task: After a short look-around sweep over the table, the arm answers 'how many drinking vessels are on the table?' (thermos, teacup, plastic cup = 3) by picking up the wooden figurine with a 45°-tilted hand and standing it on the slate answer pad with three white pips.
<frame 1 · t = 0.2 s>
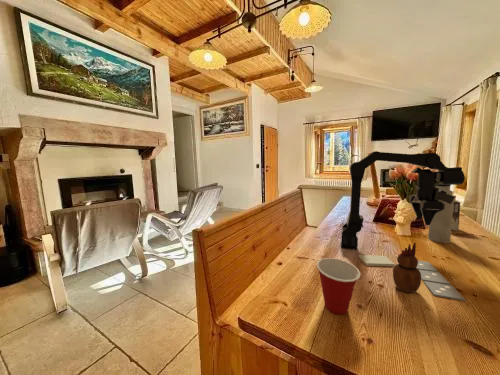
hand: (423, 221, 83), 14 cm above the table, tool pointing down, fingers open, 9 cm apart
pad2: (430, 277, 68), on the table
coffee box: (445, 228, 116), on the table
folded napkin: (375, 261, 80), on the table
wooden figurine: (405, 289, 62), on the table
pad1: (421, 266, 76), on the table
plastic cup: (336, 308, 55), on the table
thermos bottle: (438, 240, 100), on the table
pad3: (442, 291, 61), on the table
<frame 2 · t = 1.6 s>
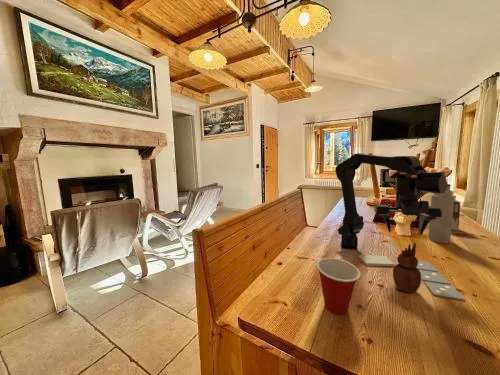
hand: (404, 233, 73), 13 cm above the table, tool pointing down, fingers open, 9 cm apart
nothing on the table moved.
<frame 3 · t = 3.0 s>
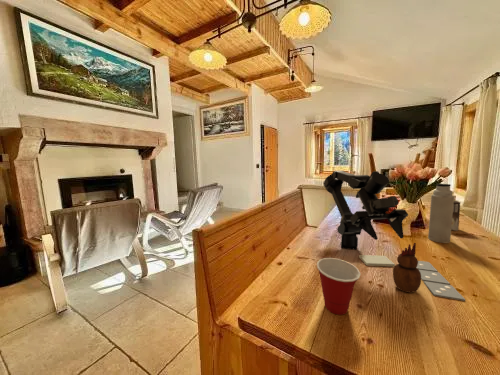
hand: (389, 238, 69), 13 cm above the table, tool tilted 45°, fingers open, 9 cm apart
nothing on the table moved.
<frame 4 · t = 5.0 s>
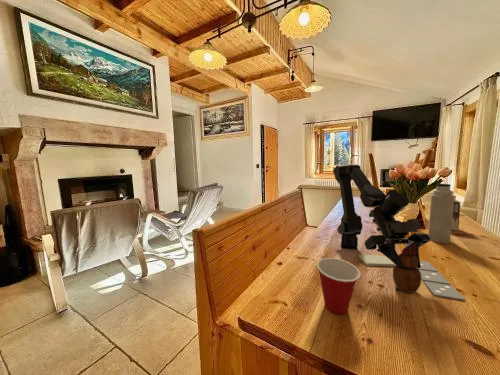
hand: (410, 268, 60), 8 cm above the table, tool tilted 45°, fingers closed on wooden figurine, 5 cm apart
wooden figurine: (405, 289, 62), on the table, touching gripper
everything else where it was.
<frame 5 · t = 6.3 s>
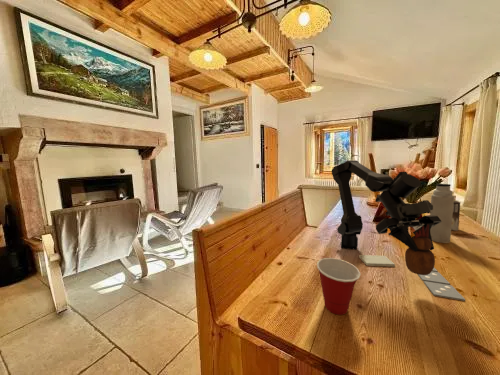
hand: (424, 250, 59), 13 cm above the table, tool tilted 45°, fingers closed on wooden figurine, 5 cm apart
wooden figurine: (418, 272, 61), point 6 cm above the table, touching gripper
everything else where it was.
when the fingers open (9 cm above the table, at t = 7.9 s): wooden figurine drops 1 cm, resting on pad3.
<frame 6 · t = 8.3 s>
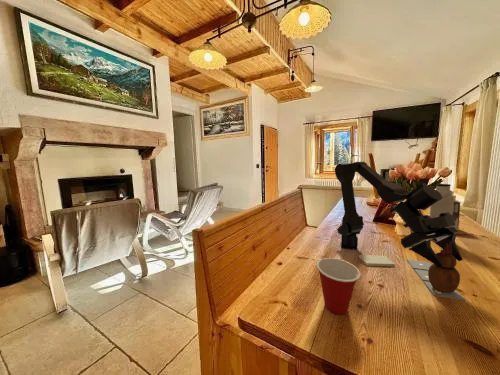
hand: (451, 263, 58), 10 cm above the table, tool tilted 45°, fingers open, 9 cm apart
wooden figurine: (442, 289, 61), resting on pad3
everything else where it was.
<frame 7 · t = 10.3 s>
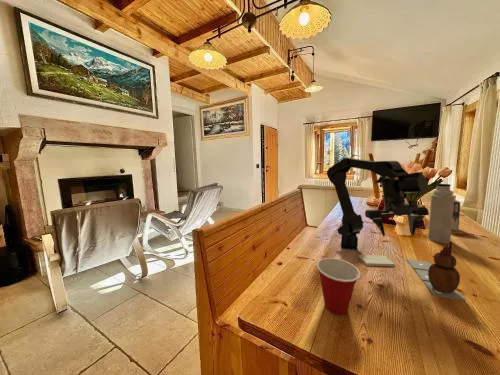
hand: (397, 235, 74), 12 cm above the table, tool pointing down, fingers open, 9 cm apart
nothing on the table moved.
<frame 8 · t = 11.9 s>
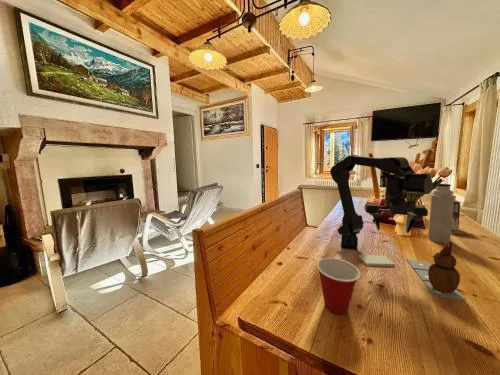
hand: (392, 231, 76), 13 cm above the table, tool pointing down, fingers open, 9 cm apart
nothing on the table moved.
at the end: wooden figurine inside the target area on the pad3 (0.2 cm from its centre), point 0.3 cm above the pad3's base; wooden figurine tilted 0°; the gripper is holding nothing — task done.
